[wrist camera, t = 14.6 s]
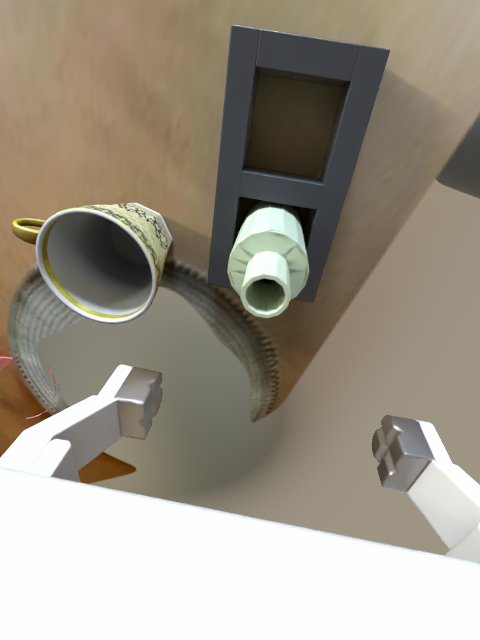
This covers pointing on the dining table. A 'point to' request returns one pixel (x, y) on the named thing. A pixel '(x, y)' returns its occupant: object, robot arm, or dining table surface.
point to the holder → (280, 187)
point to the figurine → (4, 361)
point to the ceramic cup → (101, 258)
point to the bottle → (269, 259)
